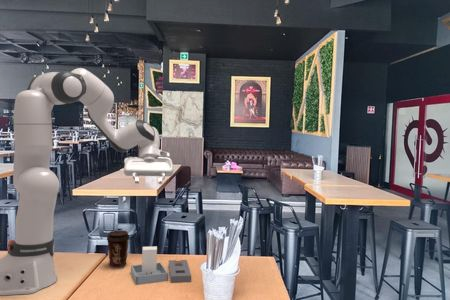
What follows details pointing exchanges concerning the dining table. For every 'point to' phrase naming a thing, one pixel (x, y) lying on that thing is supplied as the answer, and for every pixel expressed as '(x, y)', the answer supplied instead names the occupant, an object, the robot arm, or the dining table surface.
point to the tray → (156, 276)
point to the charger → (149, 259)
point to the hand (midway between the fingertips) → (148, 182)
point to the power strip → (179, 271)
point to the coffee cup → (117, 248)
